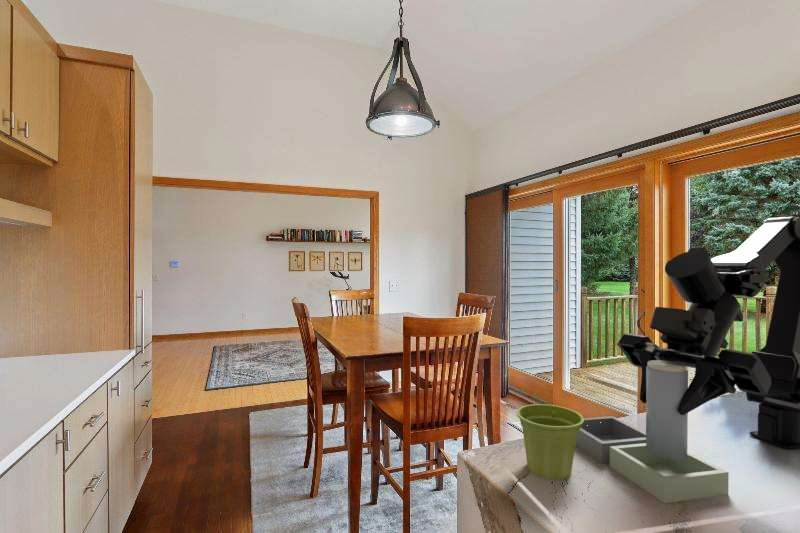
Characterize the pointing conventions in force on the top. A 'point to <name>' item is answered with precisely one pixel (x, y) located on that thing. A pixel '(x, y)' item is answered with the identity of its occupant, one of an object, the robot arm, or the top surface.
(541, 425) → the plant pot
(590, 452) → the charcoal bin
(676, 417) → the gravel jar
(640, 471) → the sage bin
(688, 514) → the top surface
